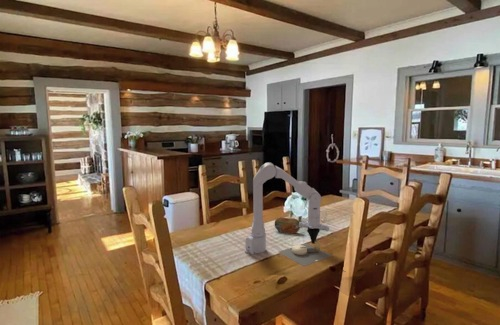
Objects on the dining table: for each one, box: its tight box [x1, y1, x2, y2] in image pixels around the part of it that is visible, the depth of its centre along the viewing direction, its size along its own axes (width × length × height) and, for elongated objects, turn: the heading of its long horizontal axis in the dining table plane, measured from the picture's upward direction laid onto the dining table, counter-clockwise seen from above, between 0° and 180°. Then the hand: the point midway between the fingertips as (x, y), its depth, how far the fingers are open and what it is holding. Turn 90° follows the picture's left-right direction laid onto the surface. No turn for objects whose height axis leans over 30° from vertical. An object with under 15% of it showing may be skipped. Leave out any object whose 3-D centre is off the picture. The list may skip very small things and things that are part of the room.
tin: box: [274, 216, 301, 234], centre depth 174 cm, size 15×3×8 cm, turn 62°
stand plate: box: [278, 243, 333, 267], centre depth 141 cm, size 18×18×2 cm
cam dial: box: [291, 240, 321, 255], centre depth 143 cm, size 13×7×5 cm, turn 93°
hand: (313, 242), depth 146 cm, fingers closed
